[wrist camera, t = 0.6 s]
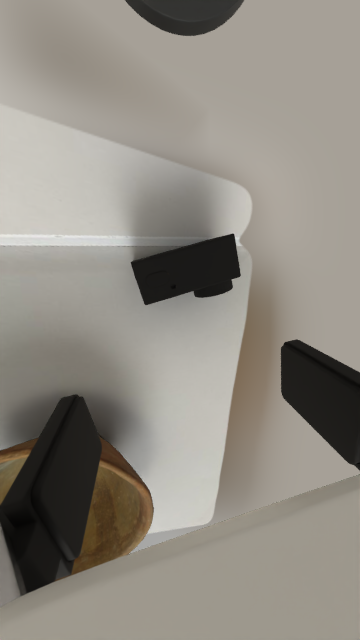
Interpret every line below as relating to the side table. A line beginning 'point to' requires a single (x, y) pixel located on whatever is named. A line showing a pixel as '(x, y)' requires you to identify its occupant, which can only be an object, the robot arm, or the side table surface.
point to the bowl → (99, 505)
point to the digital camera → (189, 270)
